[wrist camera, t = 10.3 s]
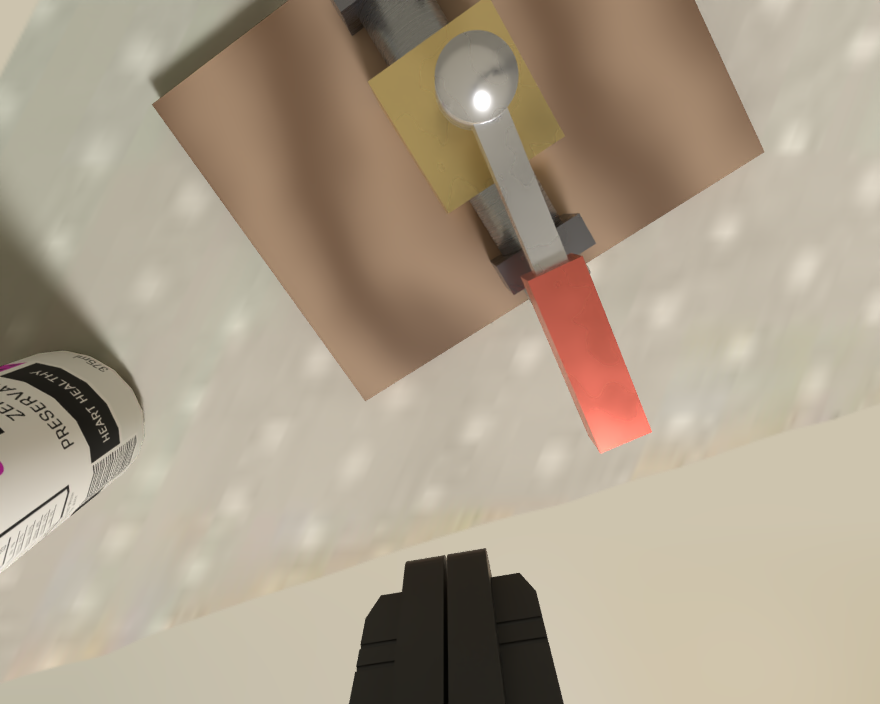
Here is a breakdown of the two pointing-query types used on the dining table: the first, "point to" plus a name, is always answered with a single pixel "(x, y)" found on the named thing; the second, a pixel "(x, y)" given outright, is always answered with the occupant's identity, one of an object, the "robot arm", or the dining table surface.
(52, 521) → the supplement can
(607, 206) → the valve board
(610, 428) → the valve lever
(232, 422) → the dining table surface
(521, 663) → the robot arm
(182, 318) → the dining table surface
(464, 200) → the pipe valve
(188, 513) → the dining table surface
